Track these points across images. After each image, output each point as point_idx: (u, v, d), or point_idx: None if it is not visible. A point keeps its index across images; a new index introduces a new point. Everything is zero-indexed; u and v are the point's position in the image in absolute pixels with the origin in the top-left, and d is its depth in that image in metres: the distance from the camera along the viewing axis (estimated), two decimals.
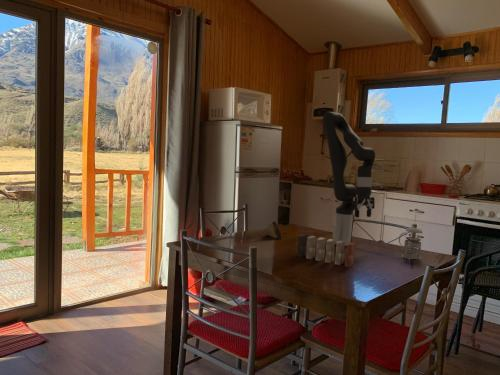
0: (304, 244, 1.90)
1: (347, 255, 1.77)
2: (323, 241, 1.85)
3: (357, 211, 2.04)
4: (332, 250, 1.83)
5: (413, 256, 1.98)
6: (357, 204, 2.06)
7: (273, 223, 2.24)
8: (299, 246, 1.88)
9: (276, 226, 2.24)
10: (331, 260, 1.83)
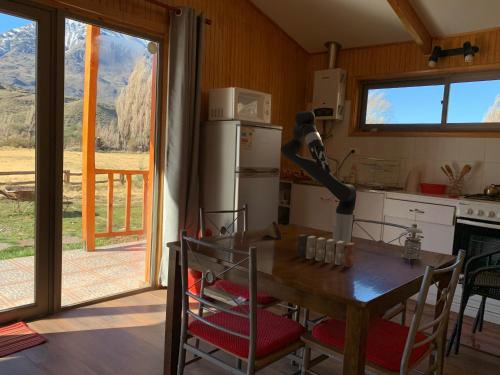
0: (304, 244, 1.90)
1: (347, 255, 1.77)
2: (323, 241, 1.85)
3: (319, 160, 1.90)
4: (332, 250, 1.83)
5: (413, 256, 1.98)
6: None
7: (273, 223, 2.24)
8: (299, 246, 1.88)
9: (276, 226, 2.24)
10: (331, 260, 1.83)
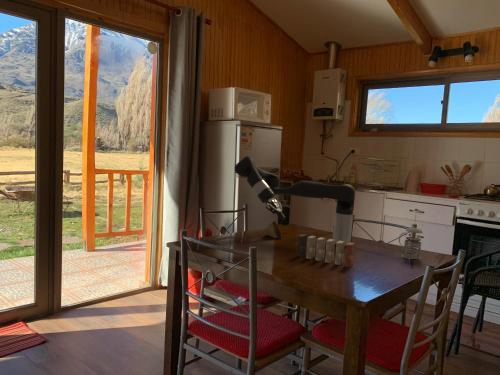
0: (304, 244, 1.90)
1: (347, 255, 1.77)
2: (323, 241, 1.85)
3: (280, 213, 1.94)
4: (332, 250, 1.83)
5: (413, 256, 1.98)
6: (273, 209, 1.95)
7: (273, 223, 2.24)
8: (299, 246, 1.88)
9: (276, 226, 2.24)
10: (331, 260, 1.83)
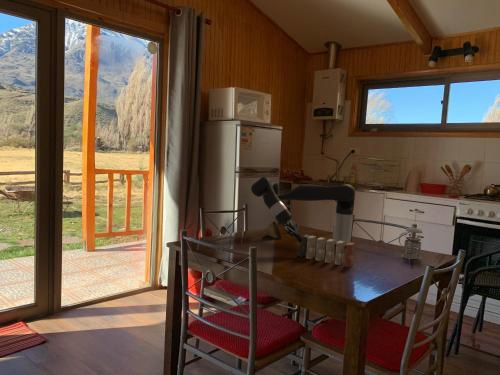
0: None
1: (347, 255, 1.77)
2: (323, 241, 1.85)
3: (298, 235, 1.90)
4: (332, 250, 1.83)
5: (413, 256, 1.98)
6: (291, 231, 1.91)
7: (273, 223, 2.24)
8: (301, 246, 1.88)
9: (276, 226, 2.24)
10: (331, 260, 1.83)
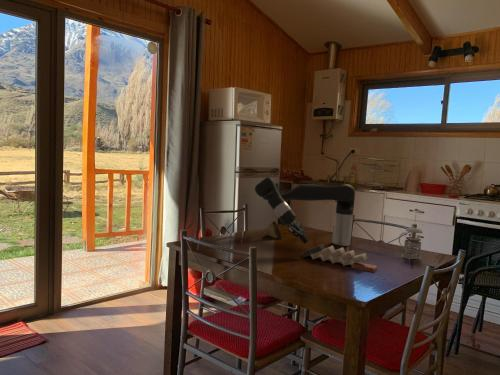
0: None
1: (362, 268, 1.74)
2: None
3: (302, 236, 1.89)
4: None
5: (413, 256, 1.98)
6: None
7: (273, 223, 2.24)
8: (311, 251, 1.85)
9: (276, 226, 2.24)
10: None
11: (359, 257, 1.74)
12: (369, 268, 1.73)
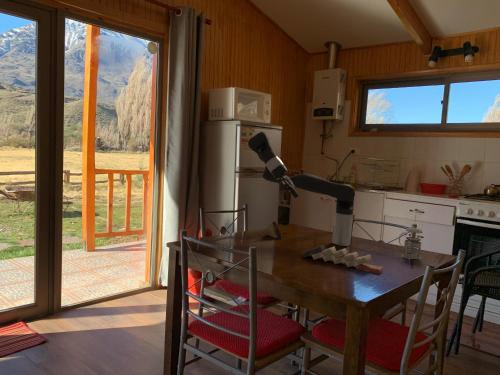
0: None
1: (368, 269, 1.72)
2: None
3: (294, 190, 1.90)
4: None
5: (413, 256, 1.98)
6: (287, 186, 1.91)
7: (273, 223, 2.24)
8: (311, 251, 1.85)
9: (276, 226, 2.24)
10: None
11: (362, 259, 1.71)
12: (374, 269, 1.70)
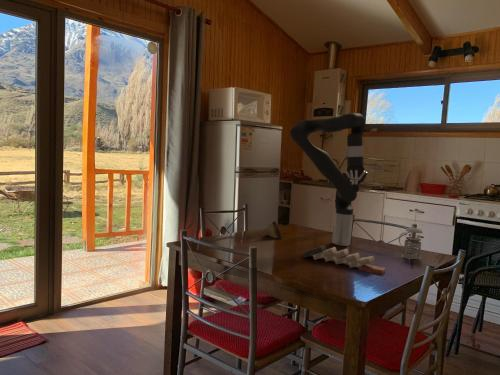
0: None
1: (370, 269, 1.71)
2: None
3: None
4: None
5: (413, 256, 1.98)
6: (358, 178, 1.90)
7: (273, 223, 2.24)
8: (312, 251, 1.85)
9: (276, 226, 2.24)
10: None
11: (365, 260, 1.71)
12: (377, 270, 1.70)
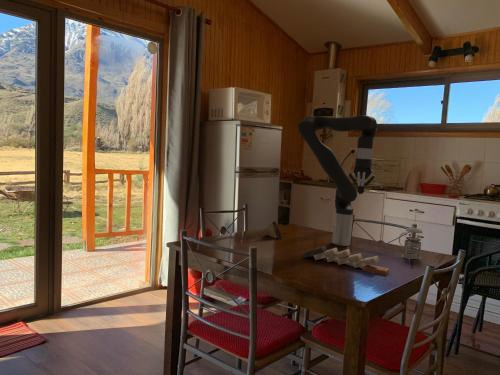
0: None
1: (374, 270, 1.71)
2: (347, 255, 1.80)
3: None
4: None
5: (413, 256, 1.98)
6: (364, 180, 1.92)
7: (273, 223, 2.24)
8: (312, 252, 1.85)
9: (276, 226, 2.24)
10: None
11: (371, 260, 1.71)
12: (381, 271, 1.69)
